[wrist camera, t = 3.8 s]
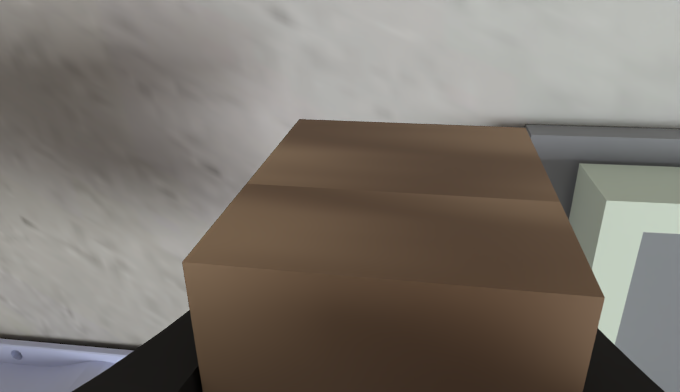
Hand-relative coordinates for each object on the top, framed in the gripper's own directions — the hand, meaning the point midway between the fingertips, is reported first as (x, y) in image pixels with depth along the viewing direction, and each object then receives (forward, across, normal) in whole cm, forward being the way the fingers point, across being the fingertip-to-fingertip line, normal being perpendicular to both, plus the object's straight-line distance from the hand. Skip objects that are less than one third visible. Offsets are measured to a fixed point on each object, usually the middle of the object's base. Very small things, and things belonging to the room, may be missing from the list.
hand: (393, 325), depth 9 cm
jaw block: (+2, 0, 0) cm, 2 cm away
